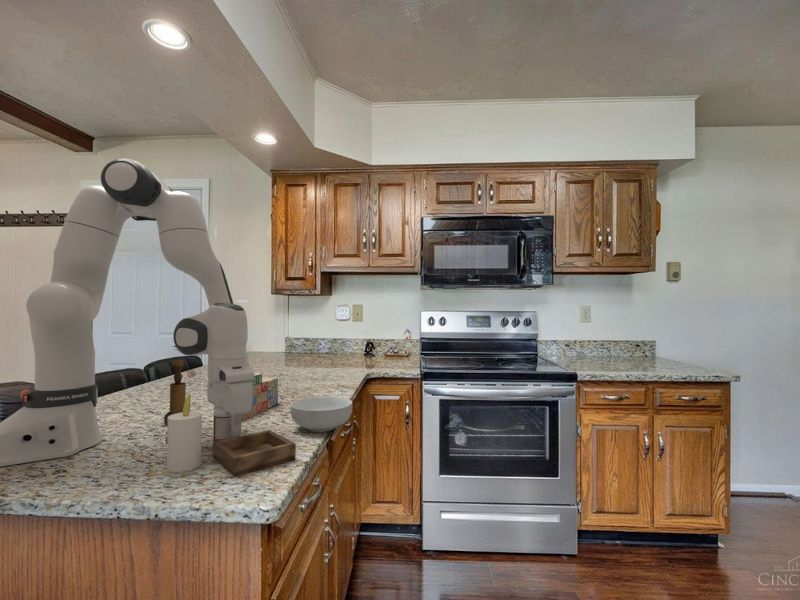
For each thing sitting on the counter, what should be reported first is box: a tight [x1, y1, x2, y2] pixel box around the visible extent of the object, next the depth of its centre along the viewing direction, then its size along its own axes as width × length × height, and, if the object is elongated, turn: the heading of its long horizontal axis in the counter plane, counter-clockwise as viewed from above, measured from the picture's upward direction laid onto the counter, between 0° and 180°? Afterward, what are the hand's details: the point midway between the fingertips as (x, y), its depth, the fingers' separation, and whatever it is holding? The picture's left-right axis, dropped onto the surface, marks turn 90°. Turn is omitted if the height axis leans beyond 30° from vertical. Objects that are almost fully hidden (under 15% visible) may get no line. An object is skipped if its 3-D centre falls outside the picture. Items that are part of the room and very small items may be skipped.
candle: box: [165, 393, 203, 473], centre depth 83 cm, size 6×6×15 cm
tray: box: [212, 429, 297, 478], centre depth 87 cm, size 13×13×4 cm
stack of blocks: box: [242, 372, 279, 420], centre depth 126 cm, size 21×6×12 cm, turn 165°
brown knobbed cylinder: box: [163, 359, 187, 426], centre depth 115 cm, size 7×6×18 cm
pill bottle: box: [212, 398, 242, 443], centre depth 96 cm, size 6×6×11 cm
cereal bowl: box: [290, 395, 353, 433], centre depth 109 cm, size 17×17×7 cm
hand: (227, 427), depth 96 cm, fingers open, 8 cm apart
